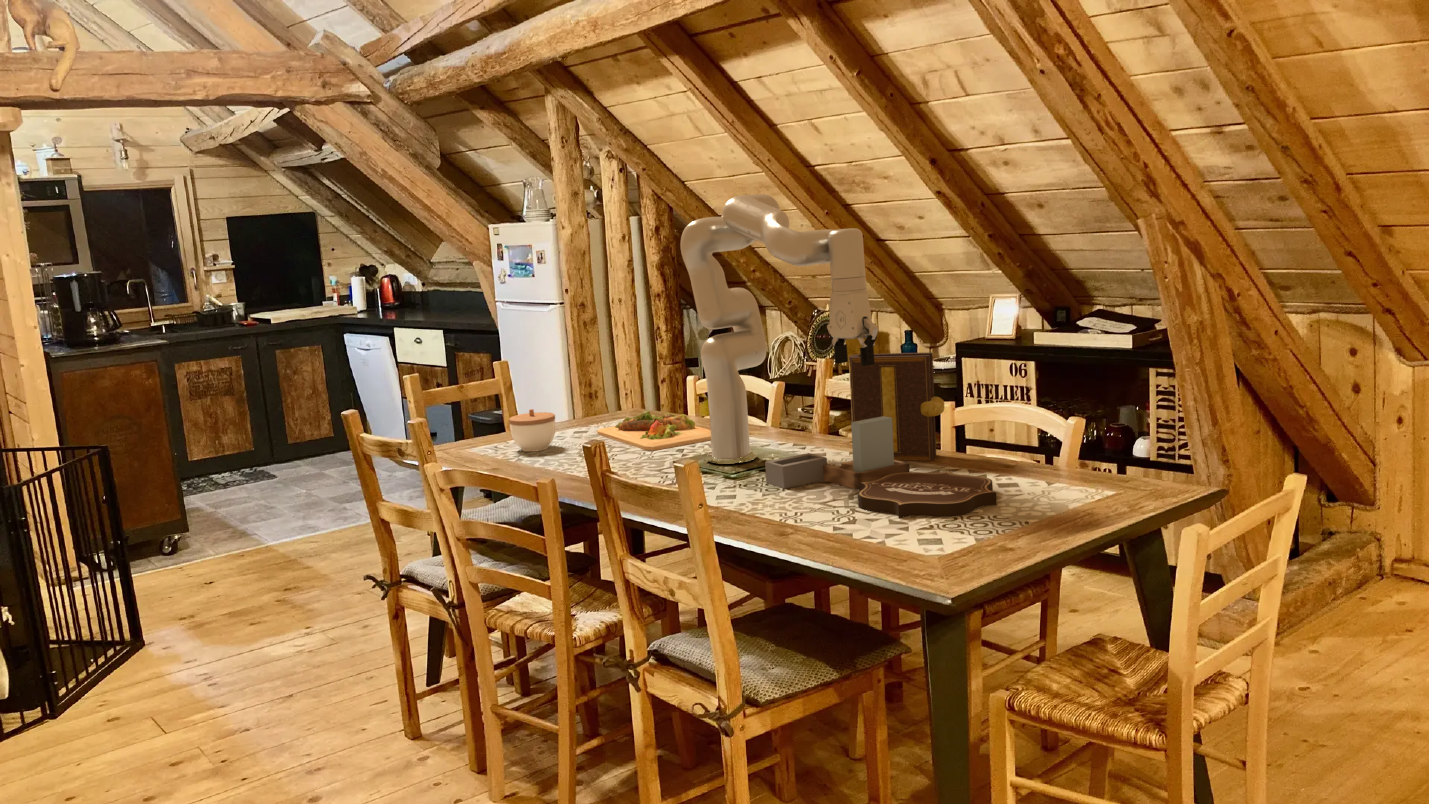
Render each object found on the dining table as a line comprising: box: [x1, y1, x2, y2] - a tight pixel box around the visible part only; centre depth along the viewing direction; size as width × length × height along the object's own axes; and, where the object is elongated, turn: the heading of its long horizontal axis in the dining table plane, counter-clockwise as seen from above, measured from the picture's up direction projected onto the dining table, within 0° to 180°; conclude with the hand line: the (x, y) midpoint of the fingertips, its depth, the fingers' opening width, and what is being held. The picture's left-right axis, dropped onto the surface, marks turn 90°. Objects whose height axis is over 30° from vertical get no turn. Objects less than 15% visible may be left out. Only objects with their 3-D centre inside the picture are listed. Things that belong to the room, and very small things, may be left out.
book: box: [848, 352, 945, 462], centre depth 278 cm, size 22×8×25 cm, turn 71°
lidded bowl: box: [508, 409, 556, 452], centre depth 320 cm, size 13×13×11 cm
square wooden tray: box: [823, 460, 911, 491], centre depth 261 cm, size 13×14×4 cm
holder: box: [764, 452, 828, 489], centre depth 263 cm, size 7×12×5 cm, turn 120°
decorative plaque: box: [857, 470, 998, 519], centre depth 240 cm, size 30×3×30 cm
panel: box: [850, 416, 894, 473], centre depth 257 cm, size 3×9×14 cm, turn 120°
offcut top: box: [840, 459, 854, 471], centre depth 262 cm, size 5×7×2 cm, turn 122°
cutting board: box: [596, 410, 711, 451], centre depth 328 cm, size 35×23×8 cm
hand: (854, 363), depth 255 cm, fingers open, 9 cm apart
